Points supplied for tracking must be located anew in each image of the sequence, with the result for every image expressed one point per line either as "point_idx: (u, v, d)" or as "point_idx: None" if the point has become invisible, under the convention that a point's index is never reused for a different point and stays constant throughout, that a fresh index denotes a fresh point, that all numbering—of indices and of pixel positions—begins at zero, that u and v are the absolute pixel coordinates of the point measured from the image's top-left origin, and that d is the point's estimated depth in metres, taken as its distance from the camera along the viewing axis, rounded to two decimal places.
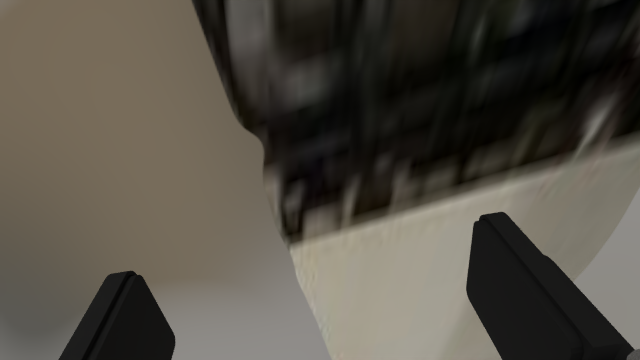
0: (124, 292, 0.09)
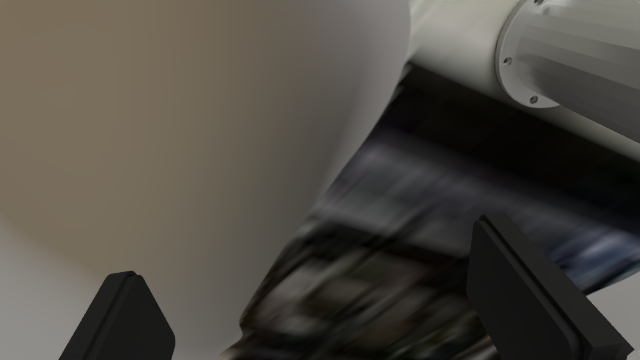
0: (124, 292, 0.09)
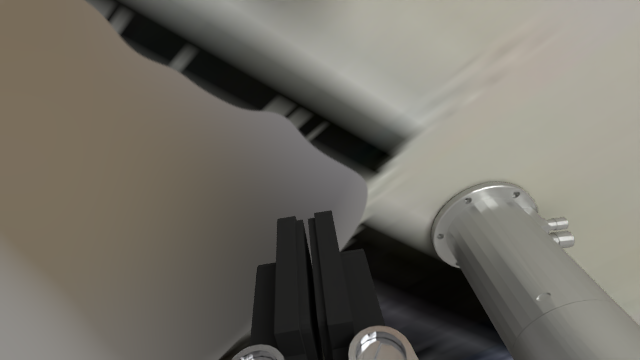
0: (299, 232, 0.10)
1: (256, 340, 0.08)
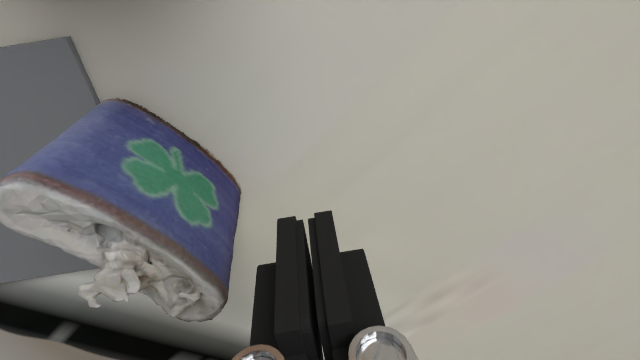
0: (299, 232, 0.10)
1: (256, 340, 0.08)
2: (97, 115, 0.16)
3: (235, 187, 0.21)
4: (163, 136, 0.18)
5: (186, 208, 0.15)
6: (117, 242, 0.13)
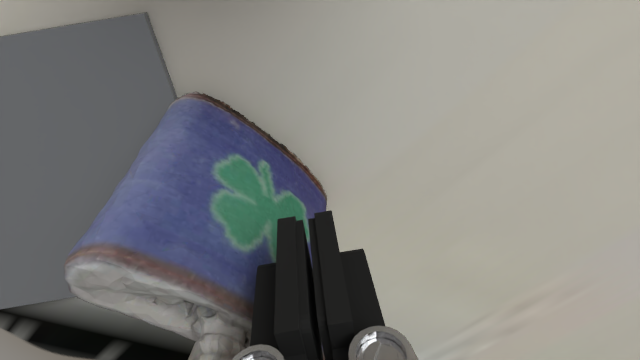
0: (299, 232, 0.10)
1: (256, 340, 0.08)
2: (177, 126, 0.13)
3: (323, 198, 0.18)
4: (250, 146, 0.15)
5: None
6: (210, 320, 0.10)
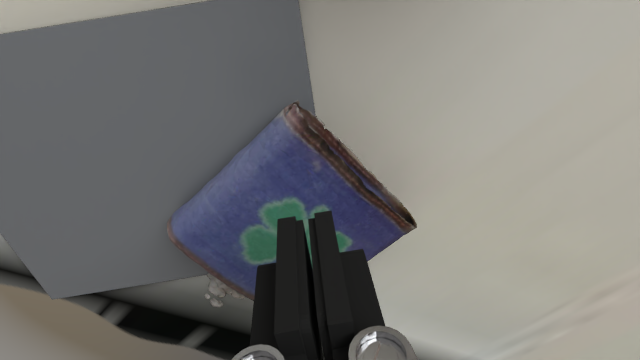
0: (299, 232, 0.10)
1: (256, 340, 0.08)
2: (255, 160, 0.15)
3: (399, 233, 0.18)
4: (317, 191, 0.15)
5: None
6: None
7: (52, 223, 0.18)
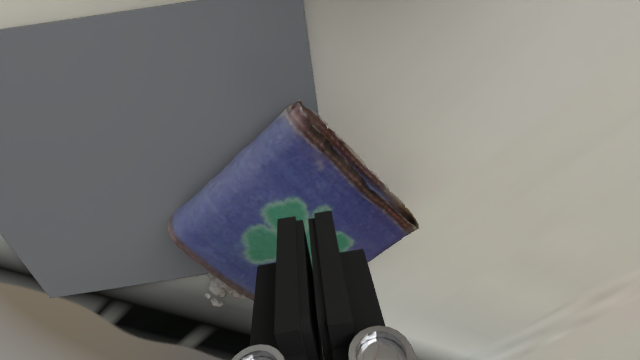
0: (299, 232, 0.10)
1: (256, 340, 0.08)
2: (258, 159, 0.15)
3: (401, 233, 0.18)
4: (319, 191, 0.15)
5: None
6: None
7: (51, 221, 0.18)
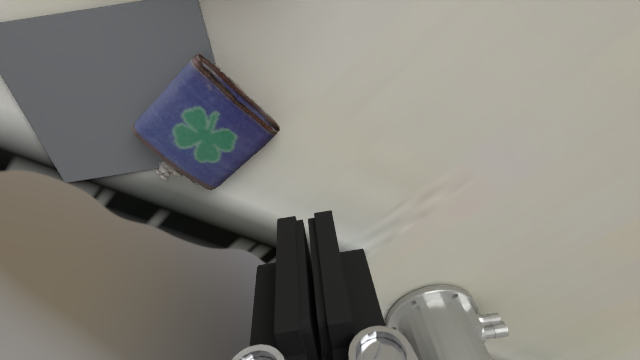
0: (299, 232, 0.10)
1: (256, 340, 0.08)
2: (177, 84, 0.28)
3: (266, 132, 0.31)
4: (211, 102, 0.29)
5: (202, 154, 0.31)
6: None
7: (66, 128, 0.31)
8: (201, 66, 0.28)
